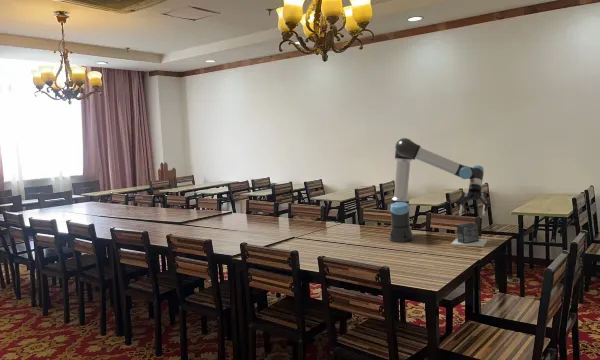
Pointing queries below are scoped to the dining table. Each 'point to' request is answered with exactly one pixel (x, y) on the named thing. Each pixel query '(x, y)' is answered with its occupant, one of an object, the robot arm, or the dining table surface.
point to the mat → (478, 243)
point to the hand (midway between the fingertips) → (471, 214)
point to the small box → (467, 233)
